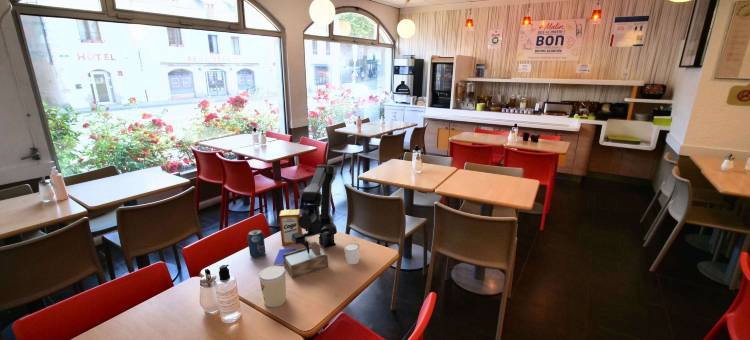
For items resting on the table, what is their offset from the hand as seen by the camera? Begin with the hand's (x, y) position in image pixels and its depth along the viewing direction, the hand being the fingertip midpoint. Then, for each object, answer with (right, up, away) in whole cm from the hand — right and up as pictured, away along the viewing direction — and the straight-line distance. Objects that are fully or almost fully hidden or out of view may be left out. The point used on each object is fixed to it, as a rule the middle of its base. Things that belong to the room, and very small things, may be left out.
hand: (316, 251), depth 151 cm
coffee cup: (-11, -13, -22) cm, 28 cm away
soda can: (-28, -4, +10) cm, 30 cm away
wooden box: (-4, -7, -1) cm, 8 cm away
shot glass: (+16, -5, +3) cm, 17 cm away
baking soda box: (-15, 0, +22) cm, 27 cm away
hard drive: (-15, -5, +7) cm, 18 cm away
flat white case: (-4, -2, -2) cm, 5 cm away
